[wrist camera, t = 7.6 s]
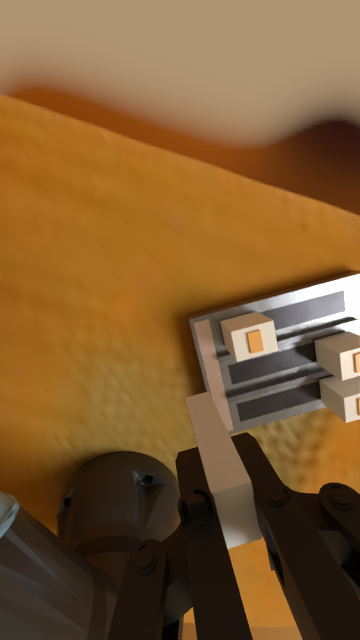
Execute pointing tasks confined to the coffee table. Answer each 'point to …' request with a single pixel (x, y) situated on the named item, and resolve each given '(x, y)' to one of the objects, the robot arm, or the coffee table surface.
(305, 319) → the panel
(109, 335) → the coffee table surface
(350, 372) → the breaker
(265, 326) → the breaker
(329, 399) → the breaker
